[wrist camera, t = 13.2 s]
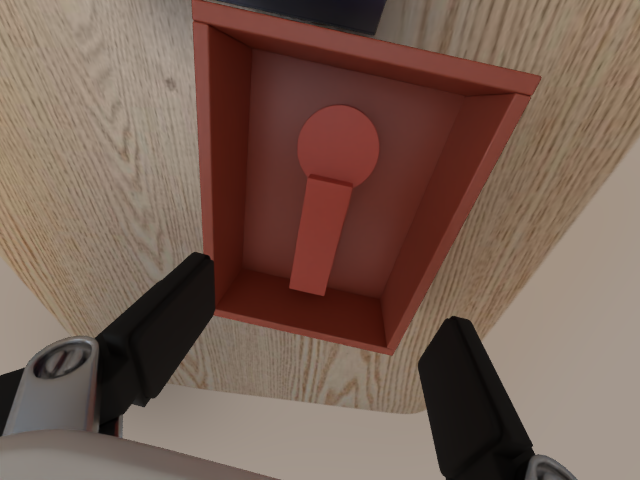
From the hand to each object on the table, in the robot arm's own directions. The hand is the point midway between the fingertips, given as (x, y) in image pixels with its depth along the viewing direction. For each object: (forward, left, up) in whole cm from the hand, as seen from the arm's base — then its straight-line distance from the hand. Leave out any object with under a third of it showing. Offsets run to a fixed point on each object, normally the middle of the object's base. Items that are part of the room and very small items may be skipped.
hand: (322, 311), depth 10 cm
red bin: (+2, -1, -8) cm, 9 cm away
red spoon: (+2, -1, -8) cm, 8 cm away
